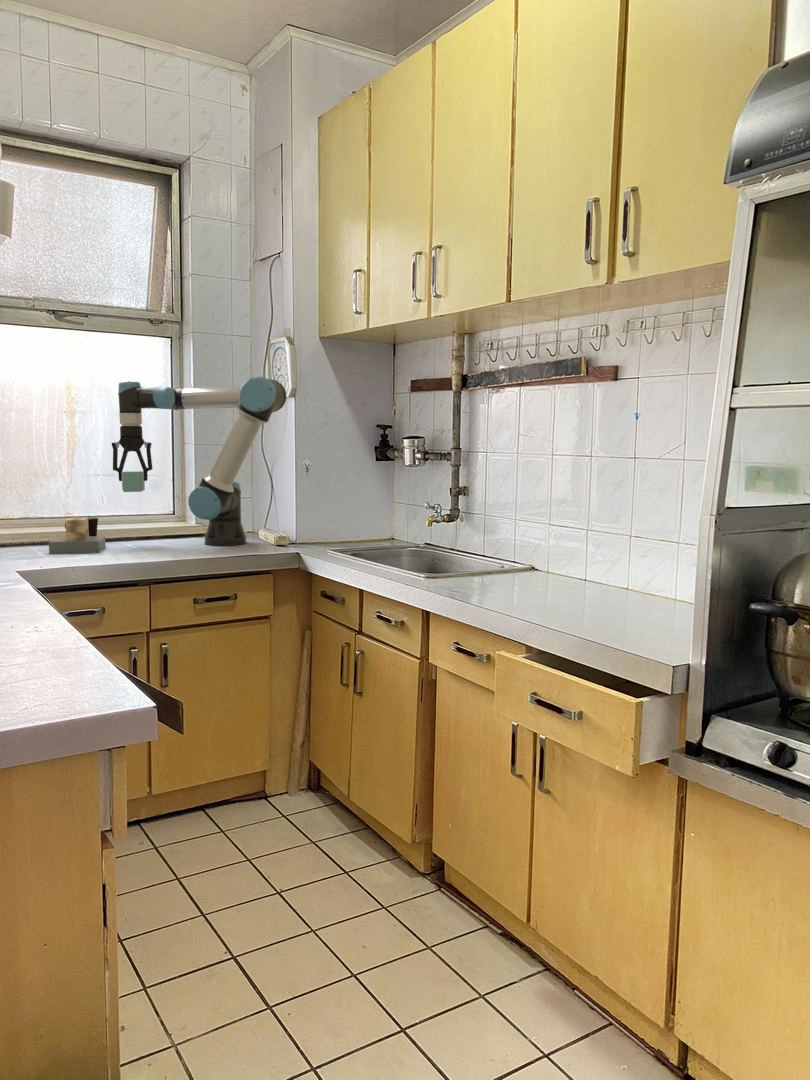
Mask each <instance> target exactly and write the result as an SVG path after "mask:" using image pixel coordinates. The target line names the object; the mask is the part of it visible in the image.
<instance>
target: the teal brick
mask: <svg viewBox="0 0 810 1080" xmlns="http://www.w3.org/2000/svg"><path fill="white" fill-rule="evenodd" d="M122 472H123V493H139V492H141V493H142V492H143V491H144V490H142V480H141V472H143V470H142V471H141V470H138V471H137V470H136V471H135V470H130V471H122Z"/></svg>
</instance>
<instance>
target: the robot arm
mask: <svg viewBox="0 0 810 1080" xmlns="http://www.w3.org/2000/svg"><path fill="white" fill-rule="evenodd" d="M117 395H118V407H119V413H118V415H119V425H120V427H119V429H120V430H119V435H120V436H119V441H117V442H111V447H112V450H113V451H112V470H113V471H115V472H117V474H118V481H119V482H121V490H122V491H123V472H124V471H123V470H124V467H125V464H126V460H127V456H128V453H129V452H136V454H137V459H138V461H139V463H140V465H141V468H142V471H143V472H141V480H142V490H143V491H146V490H145V489H146V487H145V485H146V483H145V482H147V481H148V472H149V471H151V470H153V459H152V452H151V451H152V450H151V449H152V442H149V441H145V440H144V438H143V426H142V424H143V421H142V420H143V419H142V414H143V413H142V409H160V410H172V411H179V410H201V409H204V410H206V409H207V410H209V409H236V410H237V415H236V418H235V421H234V422H233V424H232V426H231V429H230V431H229V433H228V435H227V437H226V439H225V441H224V443H223V445H222V447H221V450H220V451H219V453H218V455H217V458H216V459H215V462H214V463H213V465H212V467H211V469H210V473H208V474H205V475H203V477H202V479H201V481H200V483H199V485H198V487H196V488H194V489H193V490H192V491H191V492H190V493H189V496H188V499H187V501H188V507H189V510H190V512H191V513H192V515H194V516H195V517H196V518H198V519H200V520H207V521H208V526H207V528H206V533H205V534H204V535H205V536H204V544H205V545H207V546H218V547H220V546H222V547H223V546H237V545H245V544H247V536H246V533H245V529H244V527H243V523H242V516H241V515H242V500H241V497H242V496H241V494H242V490H241V485H240V483H239V482H237V481H235V479H236V477H237V475H238V474H239V471H240V469H241V467H242V465H243V463H244V461H245V459H246V457H247V455H248V453H249V451H250V449H251V447H252V444H253V443H254V441H255V439H256V436H257V435H258V432H259V431H260V428H261V426H262V425H264V424H267V423H269V421H270V418H271V416H272V414H273V413H275V412H278V411H280V410H281V409H283V407H284V406H285V405H286V403H287V397H288V396H287V395H288V394H287V391H286V389H285V387H284V385H283V384H282V383H280V382H279V381H278V380H274V379H273V378H266V377H264V376H256V377H252V378H249V379H247V380H245V382H243V384H242V385H241V386H231V387H230V386H227V387H226V386H224V387H223V386H221V387H220V386H219V387H193V388H189V387H188V388H171V387H170V386H161V385H160V386H141V382H139V381H133V380H129V381H128V380H123V381H120V382H119V383H118V393H117ZM143 445H144V448H146V458H147V465H146V462H145V459H144V458H143V457H144V456H143V455H142V451H141V449H142V447H143ZM120 446H121V447H122V448H123V451H122V456H121V459H120V463H119V466H118V461H119V460H118V456H119V455H118V453H119V449H120ZM118 448H119V449H118Z"/></svg>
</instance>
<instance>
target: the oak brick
mask: <svg viewBox="0 0 810 1080" xmlns="http://www.w3.org/2000/svg"><path fill="white" fill-rule="evenodd" d="M64 522H65V524H66V529H65V537H66V541H78V540H86V539H88V538H89V526H88V518H76V517H70V518H67V519H65V521H64ZM65 524H64V525H65Z"/></svg>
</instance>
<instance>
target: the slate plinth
mask: <svg viewBox="0 0 810 1080" xmlns="http://www.w3.org/2000/svg"><path fill="white" fill-rule="evenodd" d="M106 546H107V545H106V536H104V535H102V536H101V535H100V536H99V535H97V536H89V538H88V539H86V540H78V541H66V536H56V537H55V538H54V539H52V540H50V541H48V554H49V555H51V554H52V555H58V554H98V553H101V552H102V551H103V550H104V549H106Z"/></svg>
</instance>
